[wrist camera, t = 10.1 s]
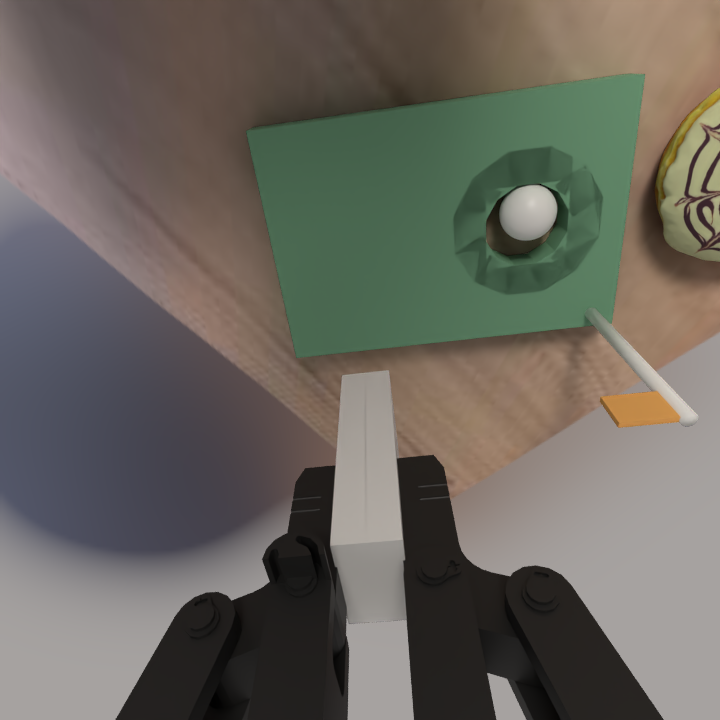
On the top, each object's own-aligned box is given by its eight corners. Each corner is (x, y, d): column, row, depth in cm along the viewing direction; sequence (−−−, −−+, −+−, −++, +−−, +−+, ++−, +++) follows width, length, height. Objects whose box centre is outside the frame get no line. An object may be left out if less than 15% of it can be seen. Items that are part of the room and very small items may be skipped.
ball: (493, 180, 30) (553, 170, 29) (504, 196, 33) (559, 188, 32) (494, 237, 30) (554, 230, 29) (504, 248, 33) (560, 242, 32)
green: (252, 127, 30) (179, 167, 18) (628, 73, 29) (818, 78, 17) (299, 344, 38) (268, 475, 26) (599, 311, 36) (717, 433, 24)
